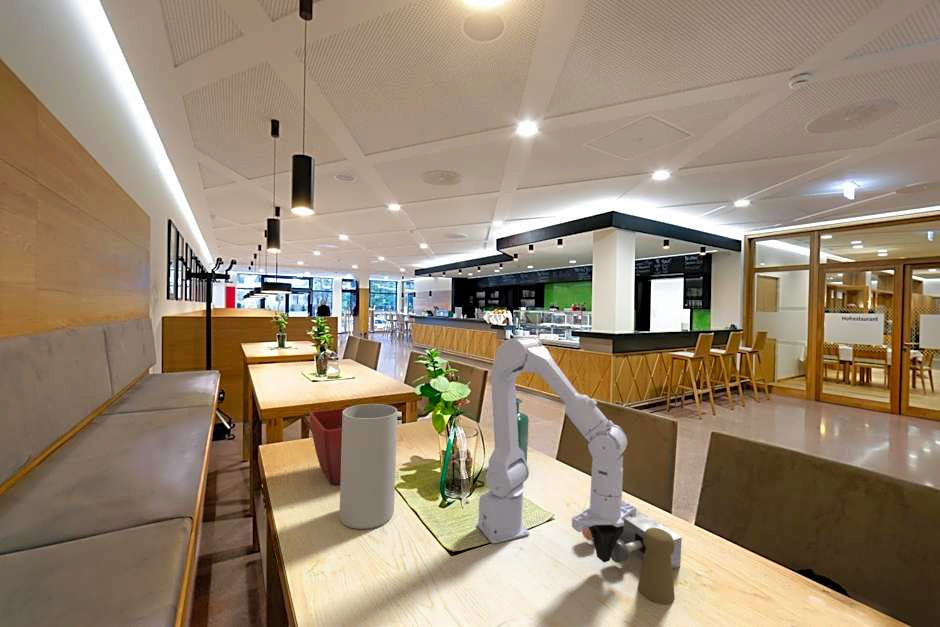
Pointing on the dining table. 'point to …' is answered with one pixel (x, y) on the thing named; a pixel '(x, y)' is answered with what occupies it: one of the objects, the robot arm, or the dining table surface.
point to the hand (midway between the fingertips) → (602, 558)
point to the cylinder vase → (368, 465)
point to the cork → (657, 567)
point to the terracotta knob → (587, 533)
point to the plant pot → (328, 441)
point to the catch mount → (636, 529)
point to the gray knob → (624, 550)
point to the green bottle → (522, 429)
